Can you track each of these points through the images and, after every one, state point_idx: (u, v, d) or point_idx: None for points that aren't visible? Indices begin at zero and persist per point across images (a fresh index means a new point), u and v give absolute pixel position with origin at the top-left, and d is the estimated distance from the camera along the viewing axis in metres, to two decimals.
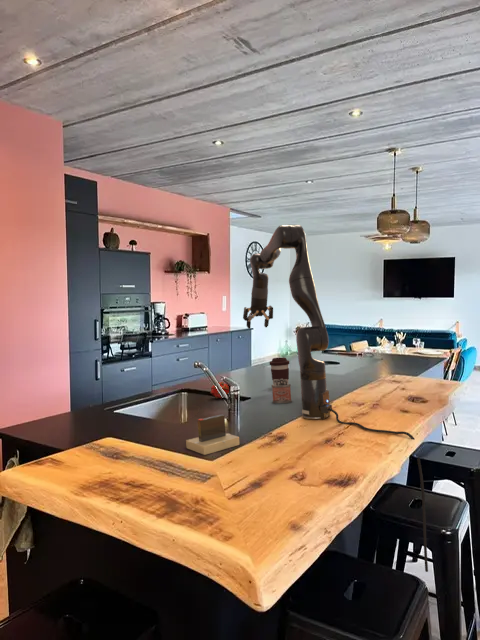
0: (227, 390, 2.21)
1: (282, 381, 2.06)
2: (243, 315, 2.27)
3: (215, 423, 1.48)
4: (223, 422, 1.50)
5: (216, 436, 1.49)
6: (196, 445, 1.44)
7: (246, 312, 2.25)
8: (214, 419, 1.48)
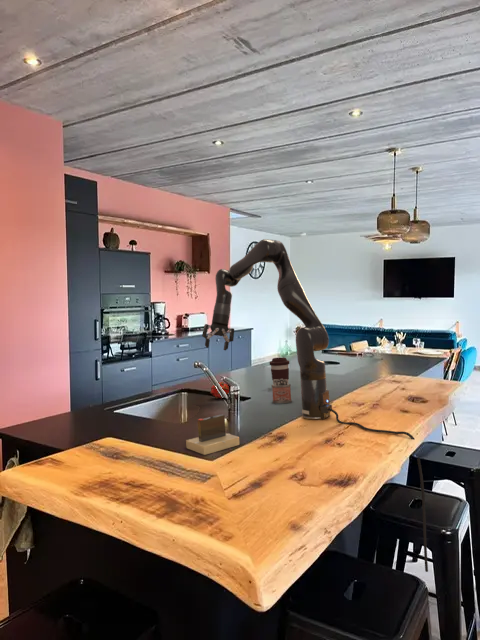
0: (227, 390, 2.21)
1: (282, 381, 2.06)
2: None
3: (215, 423, 1.48)
4: (223, 422, 1.50)
5: (216, 436, 1.49)
6: (196, 445, 1.44)
7: (206, 328, 2.16)
8: (214, 419, 1.48)
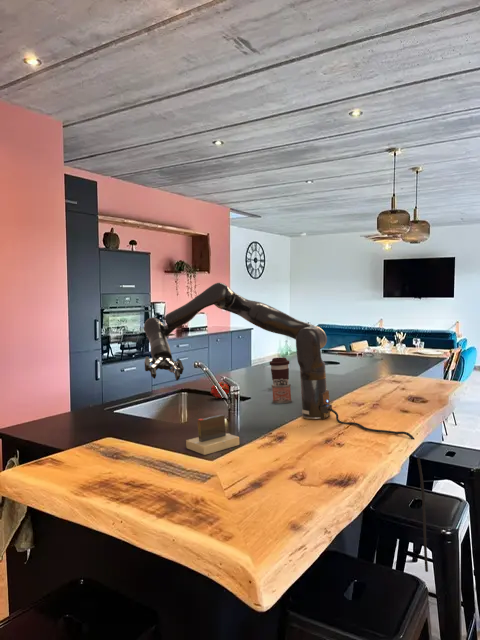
0: (227, 390, 2.21)
1: (282, 381, 2.06)
2: (145, 367, 1.79)
3: (215, 423, 1.48)
4: (223, 422, 1.50)
5: (216, 436, 1.49)
6: (196, 445, 1.44)
7: (147, 359, 1.80)
8: (214, 419, 1.48)
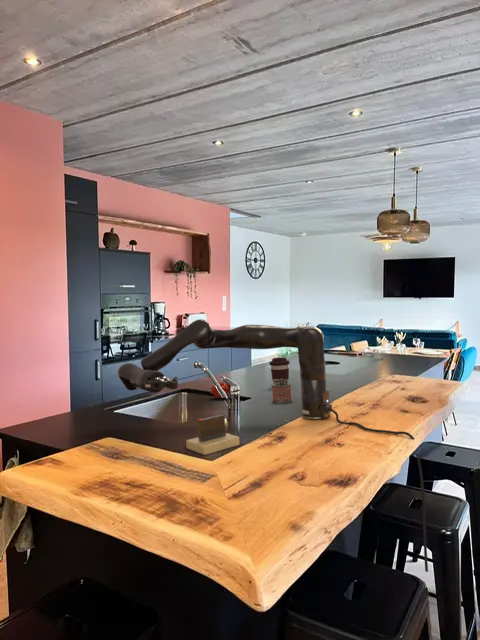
0: (227, 390, 2.21)
1: (282, 381, 2.06)
2: (156, 388, 1.59)
3: (215, 423, 1.48)
4: (223, 422, 1.50)
5: (216, 436, 1.49)
6: (196, 445, 1.44)
7: (150, 382, 1.60)
8: (214, 419, 1.48)
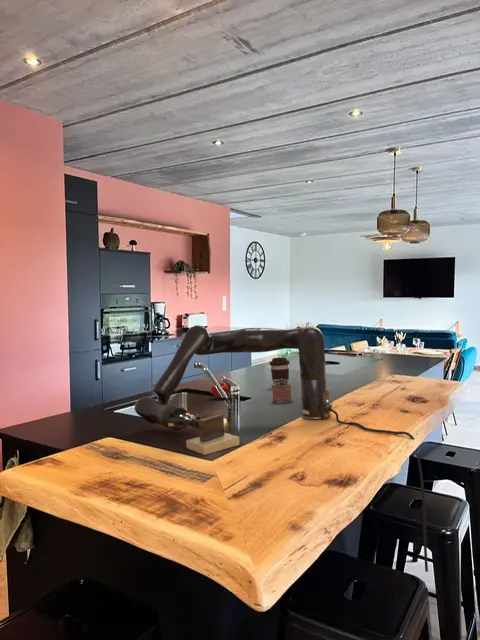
0: (227, 390, 2.21)
1: (282, 381, 2.06)
2: (180, 427, 1.48)
3: (215, 423, 1.49)
4: (222, 421, 1.51)
5: (216, 436, 1.49)
6: (196, 445, 1.44)
7: (173, 420, 1.49)
8: (214, 419, 1.48)
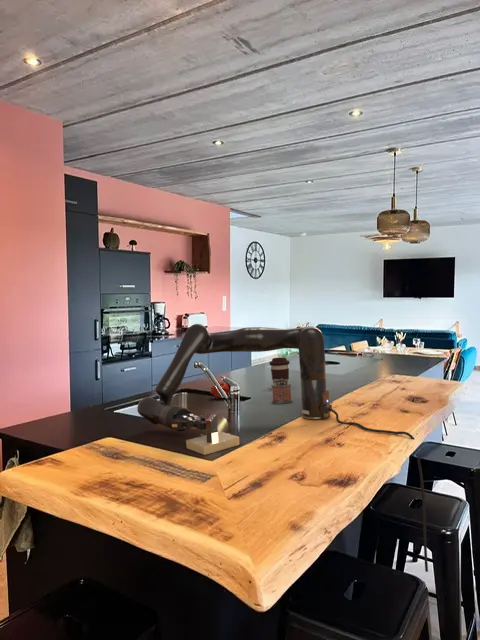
0: (227, 390, 2.21)
1: (282, 381, 2.06)
2: (184, 428, 1.47)
3: (214, 422, 1.49)
4: (216, 421, 1.52)
5: (215, 435, 1.49)
6: (196, 445, 1.44)
7: (177, 421, 1.48)
8: (214, 418, 1.49)
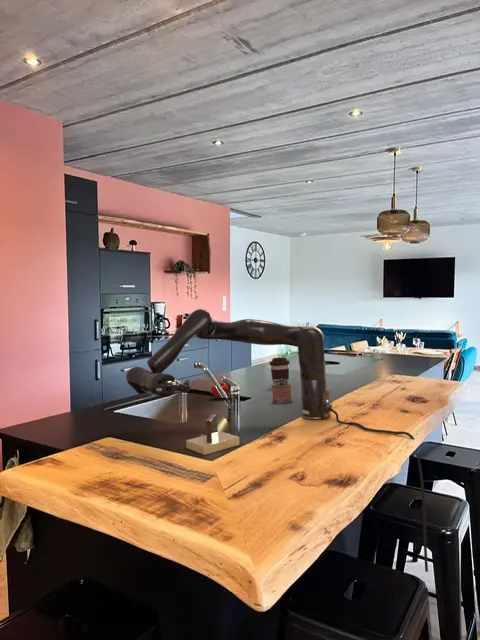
0: (227, 390, 2.21)
1: (282, 381, 2.06)
2: (168, 392, 1.53)
3: (214, 422, 1.49)
4: (216, 421, 1.52)
5: (215, 435, 1.49)
6: (196, 445, 1.44)
7: (161, 385, 1.54)
8: (214, 418, 1.49)
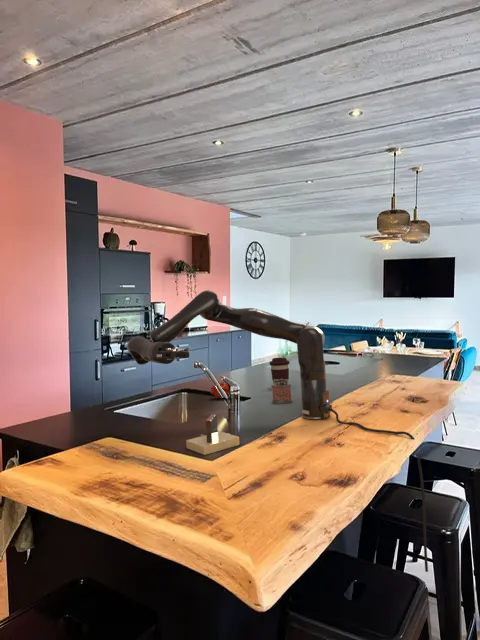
0: (227, 390, 2.21)
1: (282, 381, 2.06)
2: (168, 358, 1.58)
3: (214, 422, 1.49)
4: (216, 421, 1.52)
5: (215, 435, 1.49)
6: (196, 445, 1.44)
7: (161, 351, 1.59)
8: (214, 418, 1.49)
